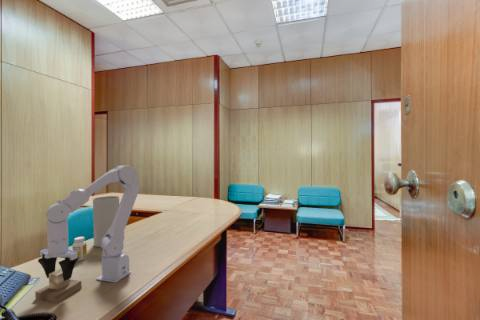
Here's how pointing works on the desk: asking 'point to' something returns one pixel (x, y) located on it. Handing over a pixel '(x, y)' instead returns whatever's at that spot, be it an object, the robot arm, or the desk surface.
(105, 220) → the cylinder vase
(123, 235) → the robot arm
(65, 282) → the maple block
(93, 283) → the desk surface
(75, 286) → the walnut block
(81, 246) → the supplement bottle
